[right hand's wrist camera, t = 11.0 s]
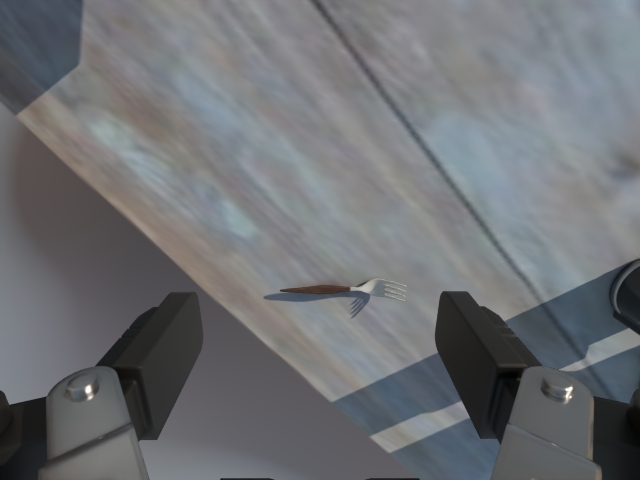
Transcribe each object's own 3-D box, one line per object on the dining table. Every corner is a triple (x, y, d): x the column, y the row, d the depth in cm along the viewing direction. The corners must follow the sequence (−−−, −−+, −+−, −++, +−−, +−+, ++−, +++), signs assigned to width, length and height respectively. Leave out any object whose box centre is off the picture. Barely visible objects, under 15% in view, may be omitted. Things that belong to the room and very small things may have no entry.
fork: (279, 279, 45) (278, 287, 43) (403, 277, 45) (406, 284, 43) (281, 297, 46) (279, 305, 44) (401, 295, 46) (405, 303, 44)
